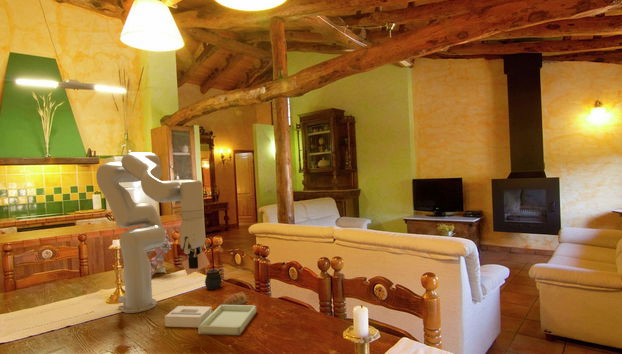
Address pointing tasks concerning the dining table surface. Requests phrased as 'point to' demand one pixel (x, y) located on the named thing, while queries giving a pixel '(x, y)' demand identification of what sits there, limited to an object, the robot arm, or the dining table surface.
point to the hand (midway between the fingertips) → (195, 266)
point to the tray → (227, 320)
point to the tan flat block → (201, 263)
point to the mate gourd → (213, 279)
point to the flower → (159, 256)
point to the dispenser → (187, 316)
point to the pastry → (235, 299)
